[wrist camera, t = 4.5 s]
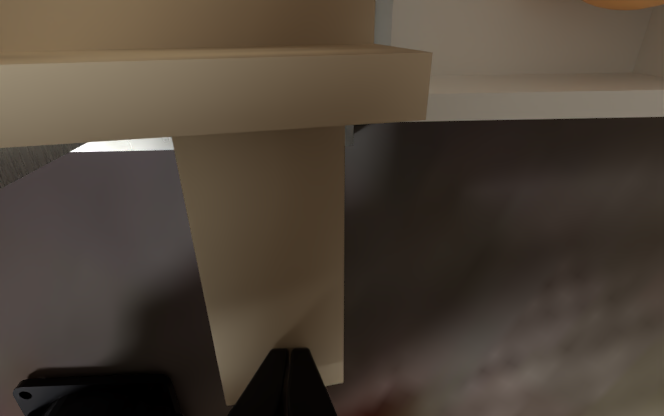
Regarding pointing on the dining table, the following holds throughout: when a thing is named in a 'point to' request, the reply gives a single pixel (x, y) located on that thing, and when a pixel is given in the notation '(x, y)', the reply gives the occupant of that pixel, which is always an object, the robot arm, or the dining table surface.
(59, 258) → the dining table surface
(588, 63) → the tray
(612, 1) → the ball
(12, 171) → the lever stand
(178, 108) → the lever
